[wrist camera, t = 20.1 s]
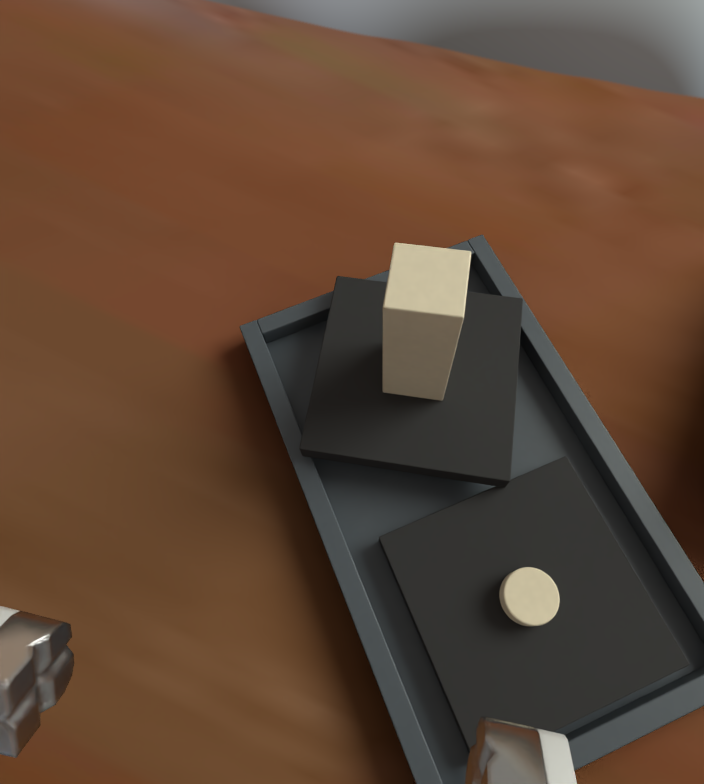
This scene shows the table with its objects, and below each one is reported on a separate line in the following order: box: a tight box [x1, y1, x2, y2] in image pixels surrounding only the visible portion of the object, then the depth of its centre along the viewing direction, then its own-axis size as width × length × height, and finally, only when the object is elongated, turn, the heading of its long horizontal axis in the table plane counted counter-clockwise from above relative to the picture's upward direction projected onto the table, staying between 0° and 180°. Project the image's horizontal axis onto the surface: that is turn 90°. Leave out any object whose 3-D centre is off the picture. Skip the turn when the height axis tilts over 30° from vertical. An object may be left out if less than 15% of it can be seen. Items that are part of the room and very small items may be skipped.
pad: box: [379, 456, 690, 753], centre depth 26 cm, size 10×10×2 cm
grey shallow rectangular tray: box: [240, 235, 704, 784], centre depth 29 cm, size 15×25×2 cm, turn 23°
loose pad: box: [299, 243, 523, 487], centre depth 26 cm, size 10×10×9 cm
